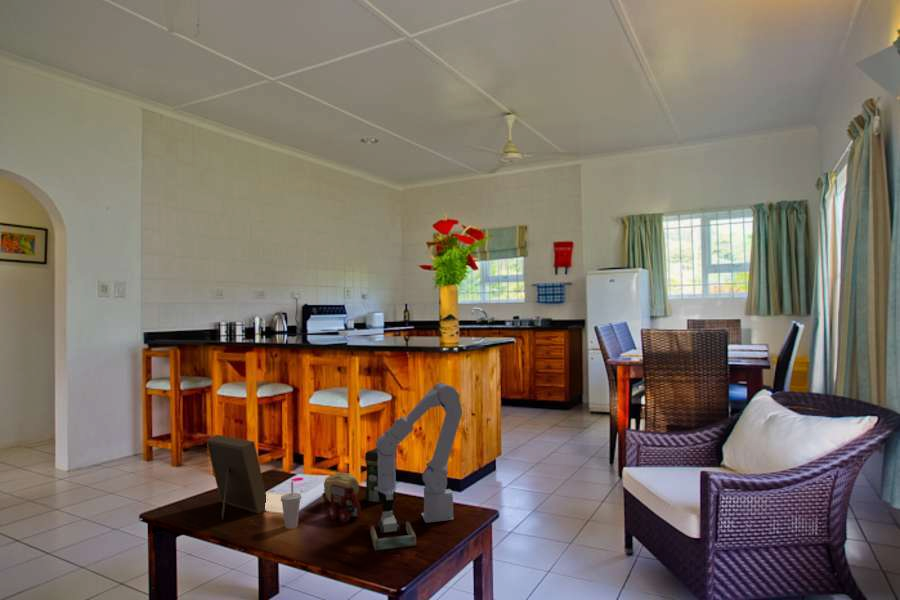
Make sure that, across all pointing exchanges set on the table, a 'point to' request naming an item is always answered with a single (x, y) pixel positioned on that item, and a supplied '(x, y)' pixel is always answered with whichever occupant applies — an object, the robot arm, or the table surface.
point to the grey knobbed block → (388, 522)
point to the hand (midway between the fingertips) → (387, 515)
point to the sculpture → (340, 483)
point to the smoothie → (291, 508)
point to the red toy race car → (343, 503)
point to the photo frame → (237, 473)
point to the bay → (394, 539)
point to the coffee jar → (372, 475)
